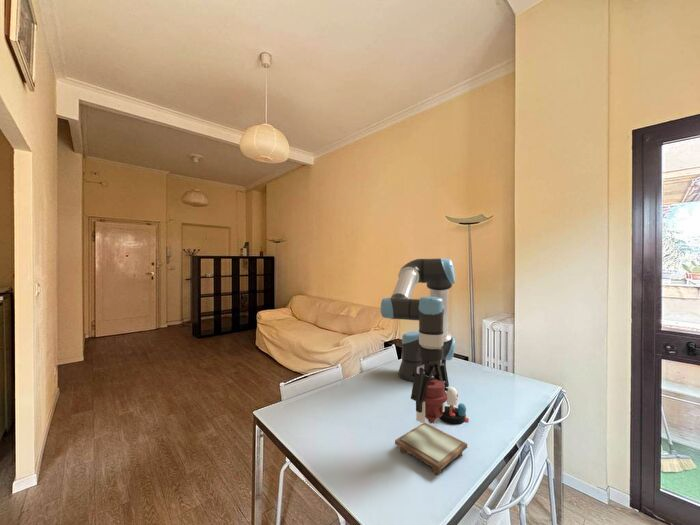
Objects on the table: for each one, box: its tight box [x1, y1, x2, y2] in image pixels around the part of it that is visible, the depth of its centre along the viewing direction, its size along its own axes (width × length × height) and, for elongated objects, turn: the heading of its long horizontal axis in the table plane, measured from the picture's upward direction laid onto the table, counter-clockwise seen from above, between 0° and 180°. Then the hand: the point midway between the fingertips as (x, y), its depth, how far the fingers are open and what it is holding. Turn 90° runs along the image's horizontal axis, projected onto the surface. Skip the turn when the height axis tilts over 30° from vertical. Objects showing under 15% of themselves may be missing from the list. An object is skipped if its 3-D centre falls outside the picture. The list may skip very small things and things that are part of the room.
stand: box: [394, 422, 468, 475], centre depth 92 cm, size 16×16×4 cm
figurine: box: [438, 386, 470, 426], centre depth 112 cm, size 10×11×12 cm
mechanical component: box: [420, 376, 447, 424], centre depth 92 cm, size 12×10×10 cm
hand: (430, 415), depth 92 cm, fingers closed on mechanical component, 10 cm apart
